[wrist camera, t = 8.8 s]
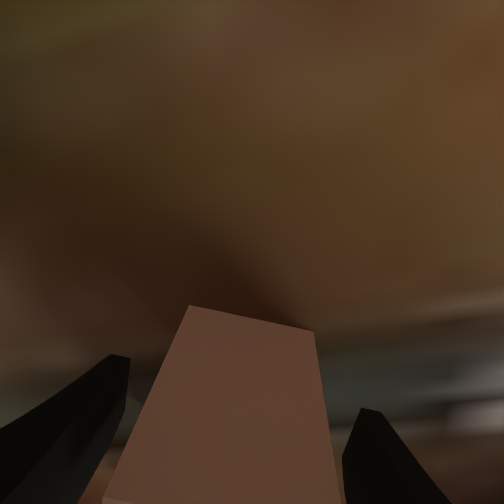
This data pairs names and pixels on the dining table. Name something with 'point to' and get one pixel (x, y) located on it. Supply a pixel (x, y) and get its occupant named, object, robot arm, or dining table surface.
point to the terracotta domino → (231, 420)
